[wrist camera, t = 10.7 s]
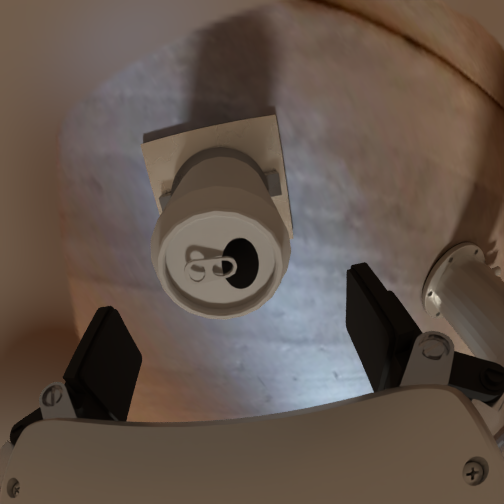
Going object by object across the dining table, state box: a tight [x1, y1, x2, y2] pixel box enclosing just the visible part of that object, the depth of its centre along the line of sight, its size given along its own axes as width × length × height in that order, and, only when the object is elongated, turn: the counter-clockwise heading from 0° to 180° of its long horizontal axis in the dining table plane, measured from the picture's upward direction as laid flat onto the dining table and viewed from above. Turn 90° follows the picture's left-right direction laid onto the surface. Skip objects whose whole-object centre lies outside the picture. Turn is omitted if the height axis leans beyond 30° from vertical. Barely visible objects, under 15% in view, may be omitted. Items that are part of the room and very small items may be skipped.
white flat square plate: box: [141, 115, 293, 239], centre depth 25 cm, size 12×12×2 cm
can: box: [151, 157, 291, 319], centre depth 19 cm, size 8×8×12 cm
